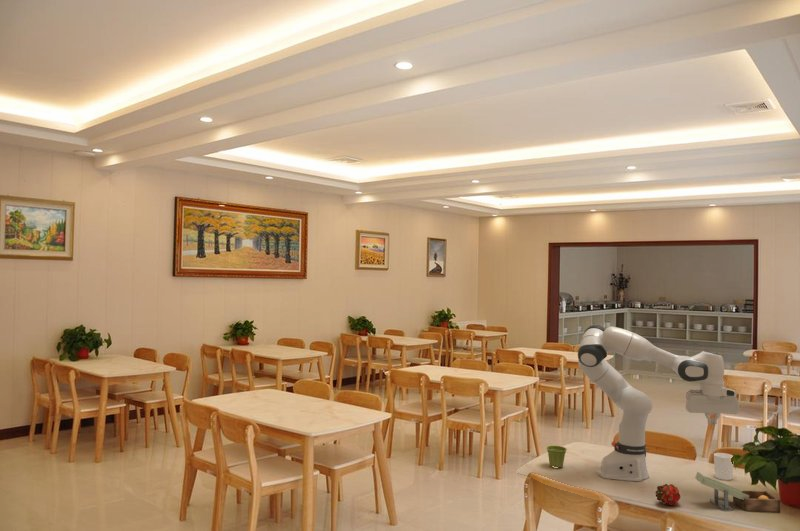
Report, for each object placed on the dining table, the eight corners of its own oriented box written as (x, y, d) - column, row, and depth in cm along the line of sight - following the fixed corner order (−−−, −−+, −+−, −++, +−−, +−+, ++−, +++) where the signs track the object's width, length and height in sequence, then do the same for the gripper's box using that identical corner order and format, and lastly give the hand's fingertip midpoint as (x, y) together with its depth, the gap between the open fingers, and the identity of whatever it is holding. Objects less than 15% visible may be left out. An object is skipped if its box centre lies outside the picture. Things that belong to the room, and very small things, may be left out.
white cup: (736, 481, 268) (736, 458, 269) (716, 480, 270) (716, 457, 270) (730, 475, 276) (730, 453, 276) (711, 474, 278) (711, 452, 278)
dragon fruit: (657, 511, 237) (673, 509, 245) (675, 503, 233) (691, 501, 240) (647, 489, 242) (663, 487, 249) (664, 481, 237) (680, 479, 244)
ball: (760, 507, 236) (761, 496, 236) (755, 503, 240) (756, 493, 240) (771, 508, 236) (772, 498, 236) (766, 504, 240) (767, 494, 240)
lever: (701, 483, 237) (704, 477, 237) (688, 472, 250) (690, 466, 250) (747, 501, 236) (749, 494, 236) (731, 489, 249) (733, 483, 249)
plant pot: (569, 465, 289) (569, 447, 290) (563, 471, 281) (563, 452, 282) (550, 462, 294) (550, 444, 295) (543, 467, 286) (543, 449, 287)
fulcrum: (721, 510, 234) (721, 491, 235) (709, 500, 245) (709, 482, 245) (733, 510, 234) (733, 491, 234) (721, 500, 244) (721, 482, 245)
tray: (745, 511, 234) (745, 499, 234) (733, 501, 244) (733, 490, 244) (780, 512, 233) (780, 500, 233) (766, 502, 243) (766, 491, 243)
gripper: (689, 391, 251) (689, 424, 251) (741, 392, 249) (741, 426, 249) (683, 388, 257) (683, 421, 257) (733, 389, 255) (733, 422, 255)
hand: (712, 423), depth 253 cm, fingers closed
